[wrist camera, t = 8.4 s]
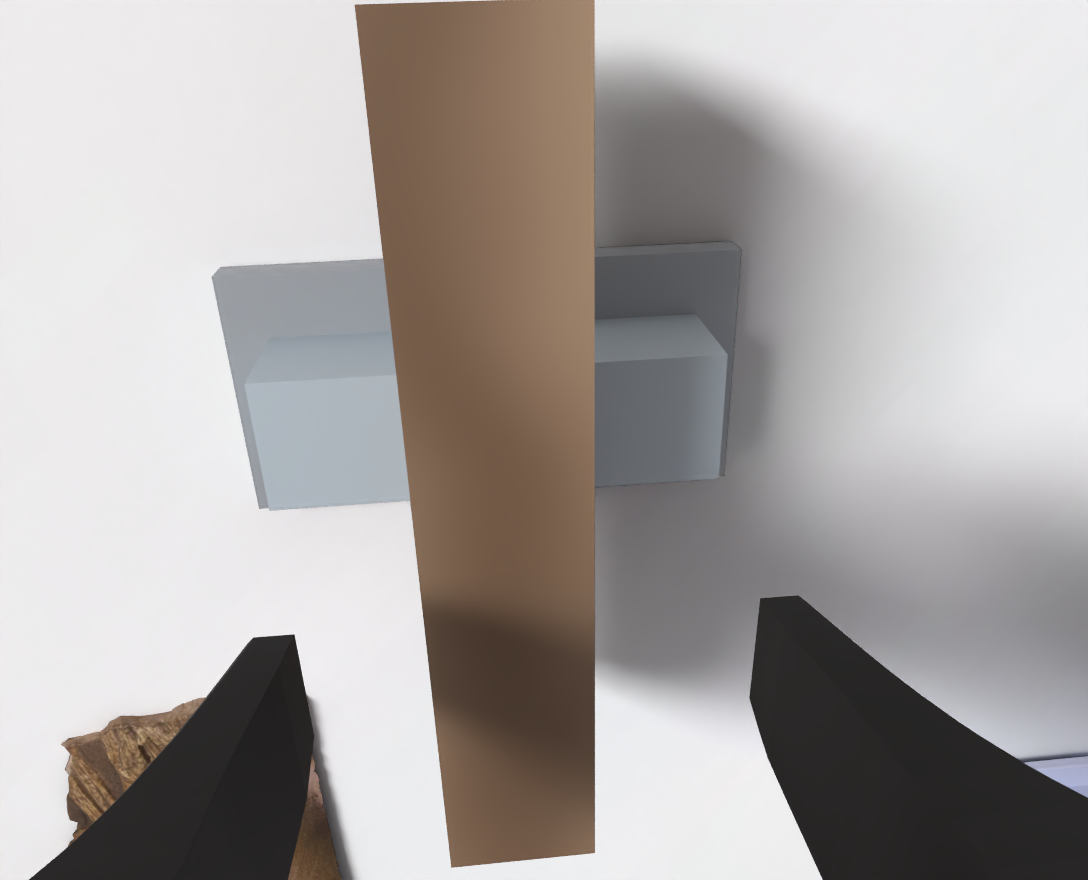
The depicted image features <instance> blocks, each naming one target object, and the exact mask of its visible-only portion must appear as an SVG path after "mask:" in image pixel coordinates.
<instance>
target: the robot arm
mask: <svg viewBox="0 0 1088 880" xmlns="http://www.w3.org/2000/svg"><path fill="white" fill-rule="evenodd" d="M750 701H751V705H752V708H753V711H754V715H755V718H756V722H757V725H758V728H759V732H760V735H761V738H762V741H763V744H764V747H765V750H766V754H767V757H768V759H769V762H770V764H771V766H772V768H773V771H774V773H775V775H776V778H777V780H778V782H779V784H780V786H781V789H782V791H783V793H784V795H785V798H786V800H787V802H788V804H789V807H790V809H791V811H792V813H793V815H794V818H795V820H796V822H797V824H798V826H799V829H800V831H801V833H802V835H803V837H804V839H805V842H806V844H807V846H808V848H809V850H810V853H811V855H812V857H813V859H814V861H815V864H816V866H817V868H818V870H819V872H820V875H821V877H822V879H823V880H1088V756H1084V757H1074V758H1064V759H1054V760H1043V761H1033V762H1021V761H1020V760H1018V759H1016V758H1015V757H1013V756H1012V755H1010V754H1008V753H1007V752H1005V751H1003V750H1002V749H1000V748H999V747H997V746H995V745H994V744H992V743H990V742H989V741H987V740H986V739H984V738H982V737H981V736H979V735H978V734H976V733H975V732H973V731H972V730H970V729H969V728H967V727H965V726H964V725H962V724H961V723H959V722H958V721H957V720H955V719H954V718H952V717H951V716H950V715H948V714H947V713H945V712H944V711H942V710H941V709H940V708H938V707H937V706H935V705H934V704H933V703H931V702H930V701H928V700H927V699H926V698H924V697H923V696H921V695H920V694H919V693H917V692H916V691H915V690H914V689H912V688H911V687H910V686H908V685H907V684H906V683H904V682H903V681H902V680H900V679H899V678H898V677H896V676H895V675H894V674H893V673H891V672H890V671H889V670H888V669H886V668H885V667H884V666H883V665H881V664H880V663H879V662H878V661H876V660H875V659H874V658H873V657H871V656H870V655H869V654H868V653H867V652H865V651H864V650H863V649H862V648H860V647H859V646H858V645H857V644H856V643H854V642H853V641H852V640H851V639H850V638H848V637H847V636H846V635H845V634H844V633H843V632H841V631H840V630H839V629H838V628H837V627H835V626H834V625H833V624H832V623H831V622H830V621H828V620H827V619H826V618H825V617H824V616H822V615H821V614H820V613H819V612H818V611H817V610H815V609H814V608H813V607H812V606H811V605H809V604H808V603H807V602H806V601H804V600H803V599H802V598H801V597H800V596H786V597H773V598H760V606H759V615H758V625H757V634H756V643H755V652H754V662H753V671H752V680H751V689H750ZM313 739H314V734H313V728H312V723H311V718H310V713H309V708H308V703H307V697H306V692H305V687H304V682H303V677H302V672H301V666H300V661H299V656H298V651H297V646H296V641H295V635H282V636H269V637H256V638H253V639H252V640H251V641H250V642H249V643H248V644H247V645H246V646H245V648H244V649H243V650H242V652H241V653H240V654H239V656H238V657H237V658H236V659H235V661H234V662H233V663H232V665H231V666H230V667H229V669H228V670H227V671H226V673H225V674H224V675H223V677H222V678H221V679H220V680H219V682H218V683H217V684H216V686H215V687H214V688H213V689H212V691H211V692H210V693H209V694H208V696H207V697H206V698H205V700H204V701H203V702H202V703H201V705H200V706H199V707H198V708H197V710H196V711H195V712H194V713H193V714H192V716H191V717H190V718H189V719H188V720H187V722H186V723H185V724H184V725H183V726H182V728H181V729H180V730H179V731H178V733H177V734H176V735H175V736H174V737H173V739H172V740H171V741H170V742H169V743H168V744H167V746H166V747H165V748H164V749H163V750H162V751H161V752H160V753H159V755H158V756H157V757H156V758H155V759H154V760H153V761H152V762H151V763H150V764H149V766H148V767H147V768H146V769H145V770H144V771H143V772H142V773H141V774H140V775H139V777H138V778H137V779H136V780H135V781H134V782H133V783H132V784H131V785H130V786H129V788H128V789H127V790H126V791H125V792H124V793H123V794H122V795H121V796H120V797H119V798H118V799H117V800H116V801H115V802H114V803H113V804H112V805H111V806H110V807H109V808H108V809H107V810H106V811H105V812H104V813H103V814H102V815H101V816H100V817H99V818H98V819H97V820H96V821H95V822H94V823H93V824H92V825H91V826H90V827H89V828H88V829H87V830H85V831H84V832H83V833H82V834H81V835H80V836H79V837H78V838H77V839H76V840H75V841H74V842H73V843H72V844H71V845H69V846H68V847H67V848H66V849H65V850H64V851H63V852H62V853H60V854H59V855H58V856H57V857H56V858H55V859H53V860H52V861H51V862H50V863H49V864H47V865H46V866H45V867H44V868H43V869H41V870H40V871H39V872H38V873H36V874H35V875H34V876H33V877H32V878H30V879H29V880H288V878H289V873H290V869H291V865H292V861H293V857H294V852H295V848H296V844H297V840H298V835H299V831H300V827H301V822H302V818H303V814H304V809H305V805H306V800H307V793H308V785H309V776H310V768H311V758H312V748H313Z"/></svg>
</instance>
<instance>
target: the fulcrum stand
mask: <svg viewBox="0 0 1088 880" xmlns="http://www.w3.org/2000/svg"><path fill="white" fill-rule="evenodd" d="M741 251H742V249H740V248H739V247H738V246H737V245H736V244H735V243H733V242H732V241H723V242H704V243H684V244H665V245H645V246H625V247H606V248H595V487H608V486H622V485H636V484H650V483H664V482H678V481H692V480H706V479H719V476H724V472H725V459H726V446H727V433H728V420H729V407H730V394H731V381H732V368H733V355H734V342H735V329H736V316H737V303H738V290H739V277H740V264H741ZM212 280H213V285H214V290H215V295H216V300H217V305H218V310H219V315H220V320H221V324H222V329H223V334H224V339H225V344H226V349H227V354H228V359H229V364H230V368H231V373H232V378H233V383H234V388H235V393H236V398H237V403H238V408H239V412H240V417H241V422H242V427H243V432H244V437H245V442H246V447H247V451H248V456H249V461H250V466H251V471H252V476H253V481H254V486H255V491H256V495H257V500H258V505H259V509H261V508H269V511H270V510H284V509H298V508H313V507H327V506H341V505H355V504H369V503H383V502H397V501H410V493H409V484H408V475H407V466H406V457H405V448H404V439H403V431H402V422H401V413H400V404H399V395H398V386H397V377H396V368H395V359H394V350H393V341H392V332H391V323H390V314H389V306H388V297H387V288H386V279H385V270H384V261H383V259H371V260H351V261H332V262H312V263H292V264H273V265H253V266H234V267H220V268H219V269H218V270H217V272H216V273H215V274H214V275H213V276H212Z"/></svg>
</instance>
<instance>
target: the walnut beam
mask: <svg viewBox="0 0 1088 880" xmlns="http://www.w3.org/2000/svg"><path fill="white" fill-rule="evenodd" d="M355 11H356V20H357V29H358V38H359V47H360V56H361V64H362V73H363V82H364V91H365V100H366V109H367V118H368V127H369V136H370V145H371V154H372V163H373V172H374V181H375V189H376V198H377V207H378V216H379V225H380V234H381V243H382V252H383V261H384V270H385V279H386V288H387V297H388V306H389V314H390V323H391V332H392V341H393V350H394V359H395V368H396V377H397V386H398V395H399V404H400V413H401V422H402V431H403V439H404V448H405V457H406V466H407V475H408V484H409V493H410V502H411V511H412V520H413V529H414V538H415V547H416V556H417V564H418V573H419V582H420V591H421V600H422V609H423V618H424V627H425V636H426V645H427V654H428V663H429V672H430V681H431V689H432V698H433V707H434V716H435V725H436V734H437V743H438V752H439V761H440V770H441V779H442V788H443V797H444V806H445V814H446V823H447V832H448V841H449V850H450V859H451V868H452V867H462V866H472V865H481V864H491V863H501V862H511V861H521V860H530V859H540V858H550V857H560V856H570V855H580V854H589V853H595V241H594V0H497V1H464V2H430V3H397V4H363V5H355Z"/></svg>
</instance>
